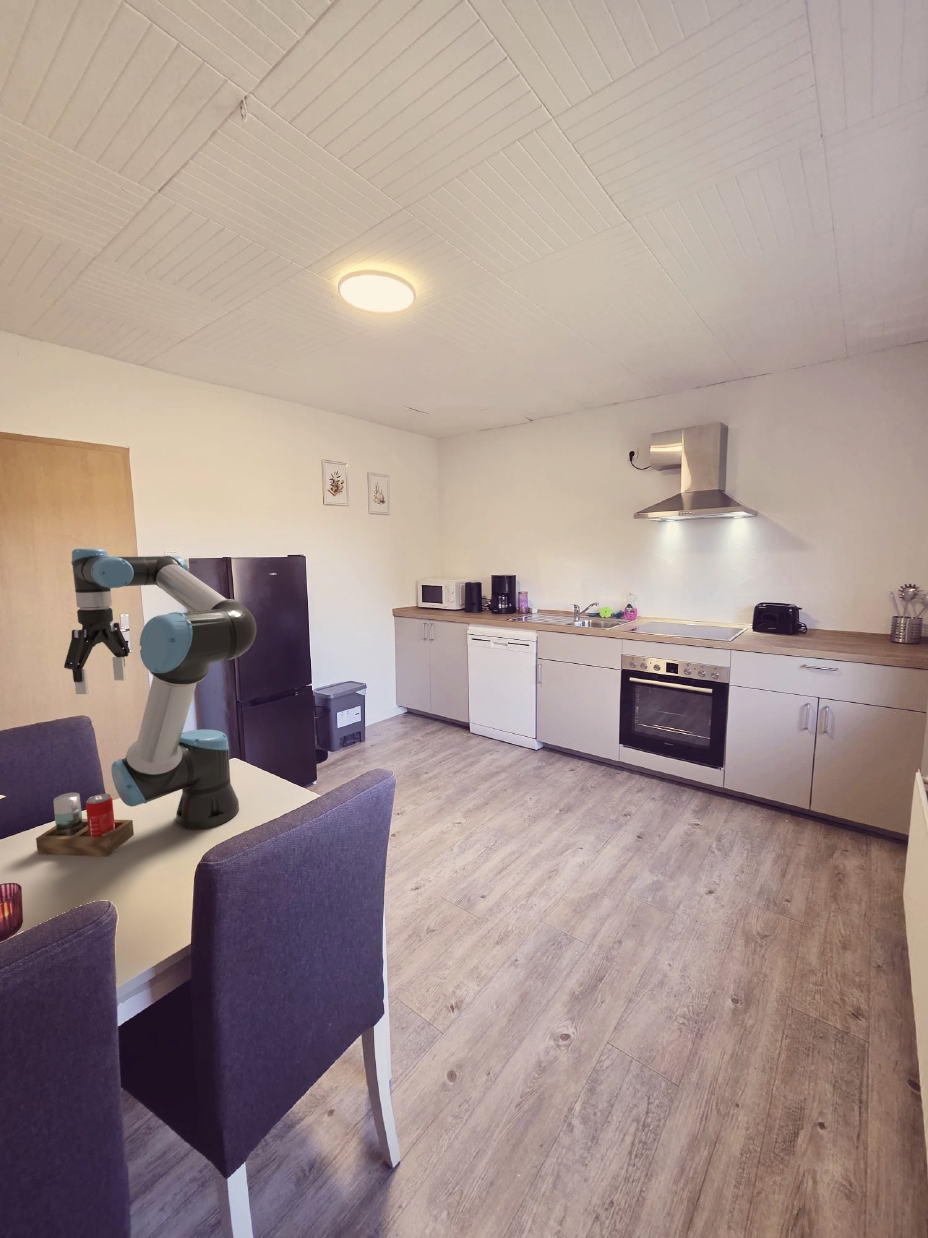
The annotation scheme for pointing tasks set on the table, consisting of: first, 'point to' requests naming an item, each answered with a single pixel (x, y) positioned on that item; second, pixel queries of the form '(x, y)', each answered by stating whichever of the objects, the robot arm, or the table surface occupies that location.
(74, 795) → the transparent cylindrical container
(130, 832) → the holder
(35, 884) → the table surface
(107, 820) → the beverage can
